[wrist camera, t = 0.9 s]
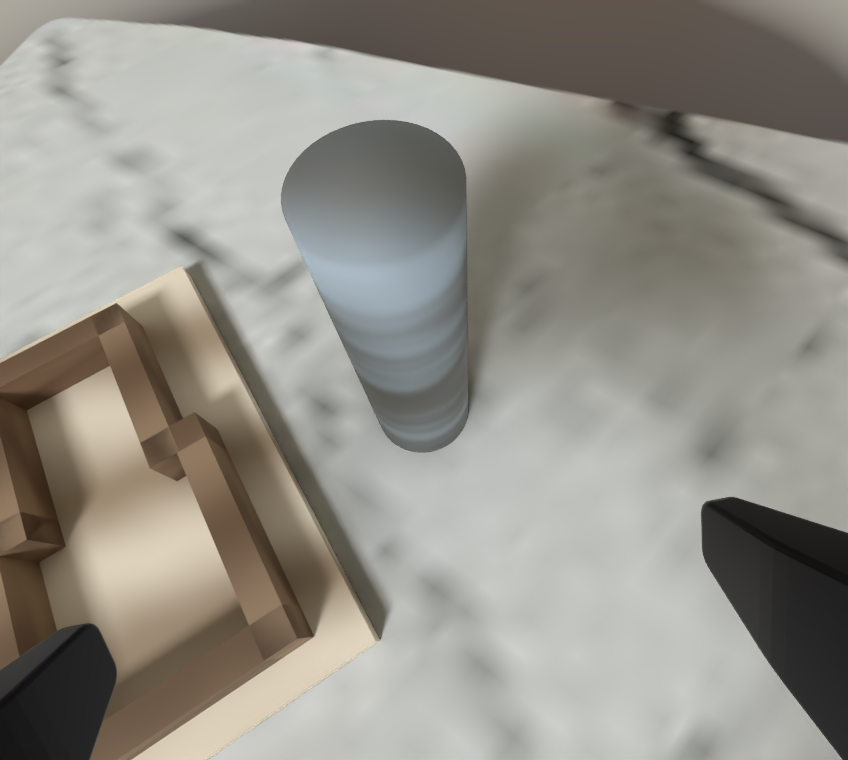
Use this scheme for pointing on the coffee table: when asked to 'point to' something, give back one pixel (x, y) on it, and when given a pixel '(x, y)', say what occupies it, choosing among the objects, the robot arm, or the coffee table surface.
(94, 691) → the robot arm
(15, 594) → the keyhole board
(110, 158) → the coffee table surface
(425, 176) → the slate peg
